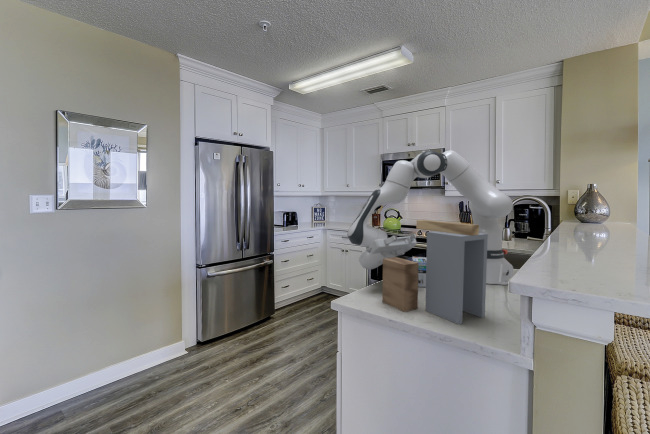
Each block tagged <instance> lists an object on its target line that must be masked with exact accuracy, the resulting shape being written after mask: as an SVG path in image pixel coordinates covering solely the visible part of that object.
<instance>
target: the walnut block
mask: <svg viewBox="0 0 650 434" xmlns="http://www.w3.org/2000/svg"><path fill="white" fill-rule="evenodd" d="M418 298H419V287H418V263H417V262H413V261H412V260H407V259H404V258H401V257H394V258H386V259H383V263H382V299H381V300H382V303H384V304H385V305H389V306H390V307H393V308H395V309H397V310H399V311H401V312H404V313H405V312H408V311H413V310H417V309H418V308H419V307H418V305H419V304H418V303H419V302H418V301H419V299H418Z"/></svg>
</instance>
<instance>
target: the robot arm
mask: <svg viewBox="0 0 650 434" xmlns="http://www.w3.org/2000/svg"><path fill="white" fill-rule="evenodd" d="M439 174H440V175H442V176H444V177H445V179H446V180H447V181H448V182H449V183H450V184H451V186H452V187H454V189H456V191H458V193H459V194H460V195H462V196H463V197H464V198H465V199H467V200H469V201H468V208H469V211H470V212H471V218H472V219H471V220H472V224H474V225H479V233H483V234H488V240H487V269H486V285H488V284H490V285H502V286H508V285H509V284H508V281H509V279H510V278H511V277H512V276H513V275H514V266H513V265H512V264H511V263H510V261H508V260H507V259H506V258H505V255H507V254H508V249H504V248H502V247H503V230H502V228H501V226H500V223H499V219H500V218H504V217H506V216H508V215H509V214H510V213H511V212H512V210H513V207H514V205H513V204H514V203H513V200H512V199H511V197H510V196H508V195H507V194H505V193H503V192H502V191H501V190H499V189H498V188H497V187H496V186H494V184H492V183H491V182H489V181H488V180H487V179H485V178H484V177H483V176H482V175H481V174H480V172H478V171H477V170H476V169H475V168H474V167H473V165H471V164H470V163H469V161H467V160H466V158H464V157H463V156H462V155H461V154H459V152H457V151H455V150H452V149H450V150H446V151H444V152H442V153H440V152H438V151H435V150H426V151H423V152H421V153H419V154H418V155H416V156H415V157H414V158H412V159H411V160H409V161H408V160H404V159H402V160H397V161H396V162H395V163H394V164H393V165H392V167H391V169H390V170H389V172H388V175H387V176H386V180H385V182H384V183H383V185H382V186H381V187H380V188H379V189H375V190H373V192H372V193H371V194H370V196H369V198H368V199H367V201H366V202H365V204H364V205H363V207H362V209H361V210H360V212H359V214H358V215H357V217H355V220H354V221H352V224H351V225H350V226H349V228H348V231H347V238H348V240H349V242H350V243H351V244H353V245H356V246H360V247H364V248H365V250H364V251H363V252H362V253H361V255H360V256H359V257H358V258H359V259H358V262H359V264H360V266H361V267H362V268H364V269H366V270H374V269H377V268H379V267H380V266H382V265H383V259H386V258H394V257H397V258H399V257H401V256H403V255H405V254H406V252H408V251H410V250H411V249H412V248H414V247H416V246H417V244H418V242H417V235H416V234H415V233H411V234H409V236H399V237H398V236H397V235H392V236H390V237H389V235H388V233H387V232H386V231H385V230H382V229H379V228H377V227H374V226H371V225H369V224H367V223H368V221H369V220H370V218H371V216H372V215H373V213H374V211H375V210H376V209H377V208H378V207H380V206H383V205H397V204H400V203H402V202H404V200H405V199H406V198H407V196H408V194H409V191H410V188H411V186H412V183H413V182H414V180H416V179H427V178H428V179H429V178H432V177H433V176H436V175H439Z"/></svg>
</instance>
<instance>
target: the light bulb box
mask: <svg viewBox="0 0 650 434" xmlns="http://www.w3.org/2000/svg"><path fill="white" fill-rule="evenodd" d="M426 258H427V256H426V257H425V256H412V258H411V261H413V262H417V263H418V288H419V287H420V288H426Z"/></svg>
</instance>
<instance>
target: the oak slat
mask: <svg viewBox="0 0 650 434" xmlns="http://www.w3.org/2000/svg"><path fill="white" fill-rule="evenodd" d="M415 227H416V230H425V231H429V232H433V231H438V232H446V233H454V234H462V235H470V236H473V235H479V225H474V224H473V223H464V222H463V223H461V222H452V221H451V222H450V221H440V220H439V221H438V220H428V219H417V220H416V226H415Z"/></svg>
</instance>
